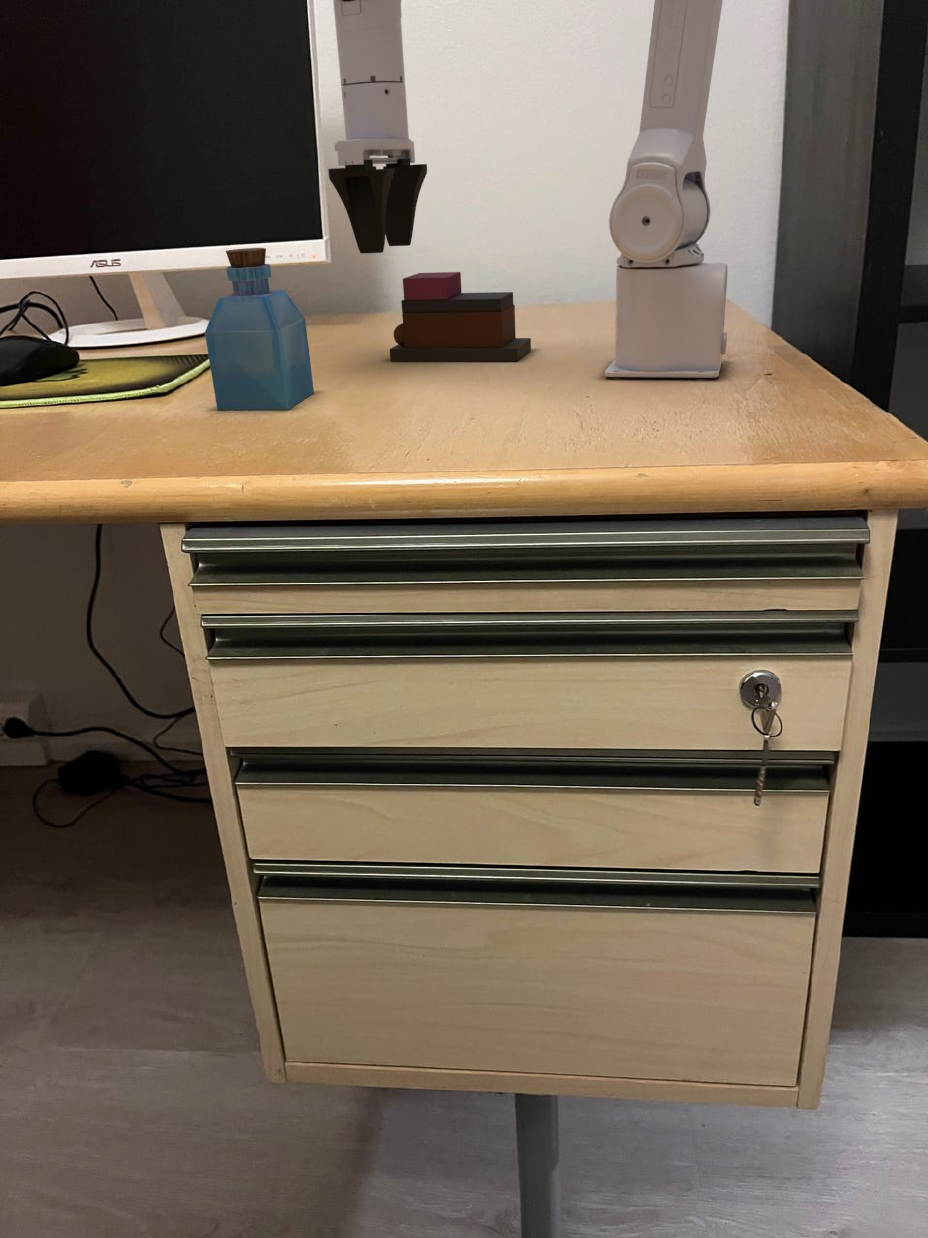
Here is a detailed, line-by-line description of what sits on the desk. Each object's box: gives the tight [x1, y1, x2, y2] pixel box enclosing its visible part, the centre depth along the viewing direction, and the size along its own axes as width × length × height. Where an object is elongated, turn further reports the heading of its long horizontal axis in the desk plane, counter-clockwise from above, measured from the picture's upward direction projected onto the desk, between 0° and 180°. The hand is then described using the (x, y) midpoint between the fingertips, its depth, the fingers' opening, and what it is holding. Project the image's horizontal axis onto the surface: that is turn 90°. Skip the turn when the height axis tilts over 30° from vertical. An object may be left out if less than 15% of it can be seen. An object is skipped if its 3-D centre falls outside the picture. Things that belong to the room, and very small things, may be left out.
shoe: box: [389, 303, 532, 362], centre depth 95 cm, size 13×6×4 cm, turn 74°
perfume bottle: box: [204, 247, 315, 411], centre depth 78 cm, size 6×6×12 cm
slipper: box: [400, 271, 514, 313], centre depth 93 cm, size 10×5×3 cm, turn 74°
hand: (386, 249), depth 90 cm, fingers open, 7 cm apart
